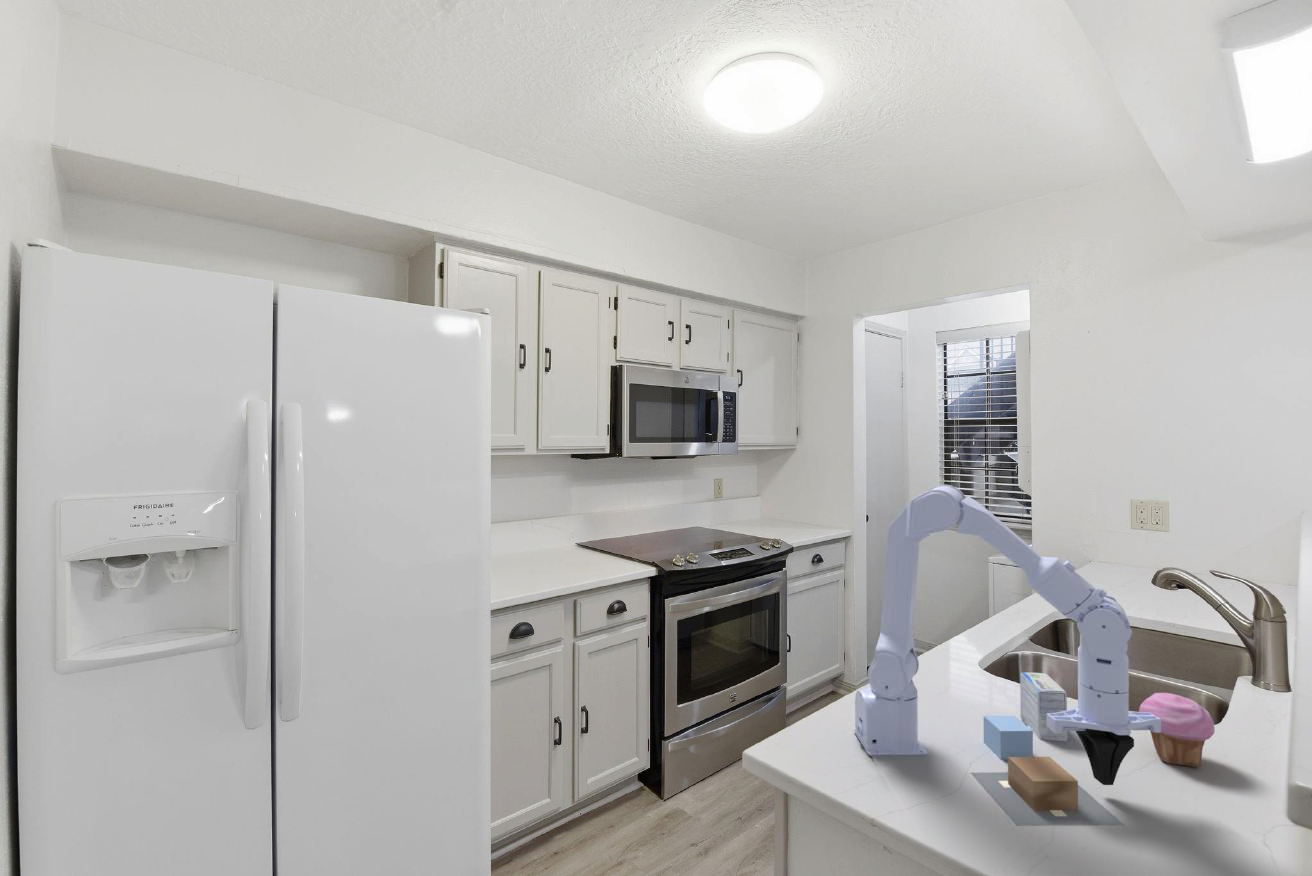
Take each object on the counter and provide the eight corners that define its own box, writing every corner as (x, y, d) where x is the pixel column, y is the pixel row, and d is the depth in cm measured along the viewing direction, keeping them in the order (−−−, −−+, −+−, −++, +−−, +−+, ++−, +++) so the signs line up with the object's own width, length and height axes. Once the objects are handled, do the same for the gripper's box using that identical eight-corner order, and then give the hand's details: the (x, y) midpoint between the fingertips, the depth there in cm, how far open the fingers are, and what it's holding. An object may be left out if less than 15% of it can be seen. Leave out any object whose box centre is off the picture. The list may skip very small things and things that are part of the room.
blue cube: (1000, 762, 94) (1000, 731, 94) (983, 745, 99) (983, 715, 99) (1032, 762, 94) (1032, 731, 94) (1014, 745, 99) (1014, 715, 99)
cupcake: (1151, 768, 92) (1151, 703, 91) (1130, 740, 100) (1130, 681, 99) (1226, 780, 88) (1226, 713, 88) (1198, 750, 96) (1198, 688, 96)
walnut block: (1033, 810, 81) (1033, 781, 81) (1008, 784, 87) (1008, 756, 87) (1077, 810, 81) (1077, 781, 81) (1049, 783, 87) (1049, 756, 87)
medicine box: (1068, 744, 99) (1068, 692, 99) (1038, 741, 100) (1038, 690, 100) (1047, 721, 107) (1047, 672, 106) (1019, 719, 108) (1019, 671, 107)
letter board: (1016, 828, 79) (1016, 825, 79) (970, 775, 91) (970, 772, 91) (1124, 828, 78) (1124, 824, 78) (1063, 774, 90) (1063, 771, 90)
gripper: (1069, 698, 80) (1070, 799, 80) (1179, 697, 80) (1180, 798, 80) (1036, 676, 87) (1037, 769, 87) (1138, 675, 87) (1138, 768, 87)
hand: (1103, 781), depth 84 cm, fingers closed
